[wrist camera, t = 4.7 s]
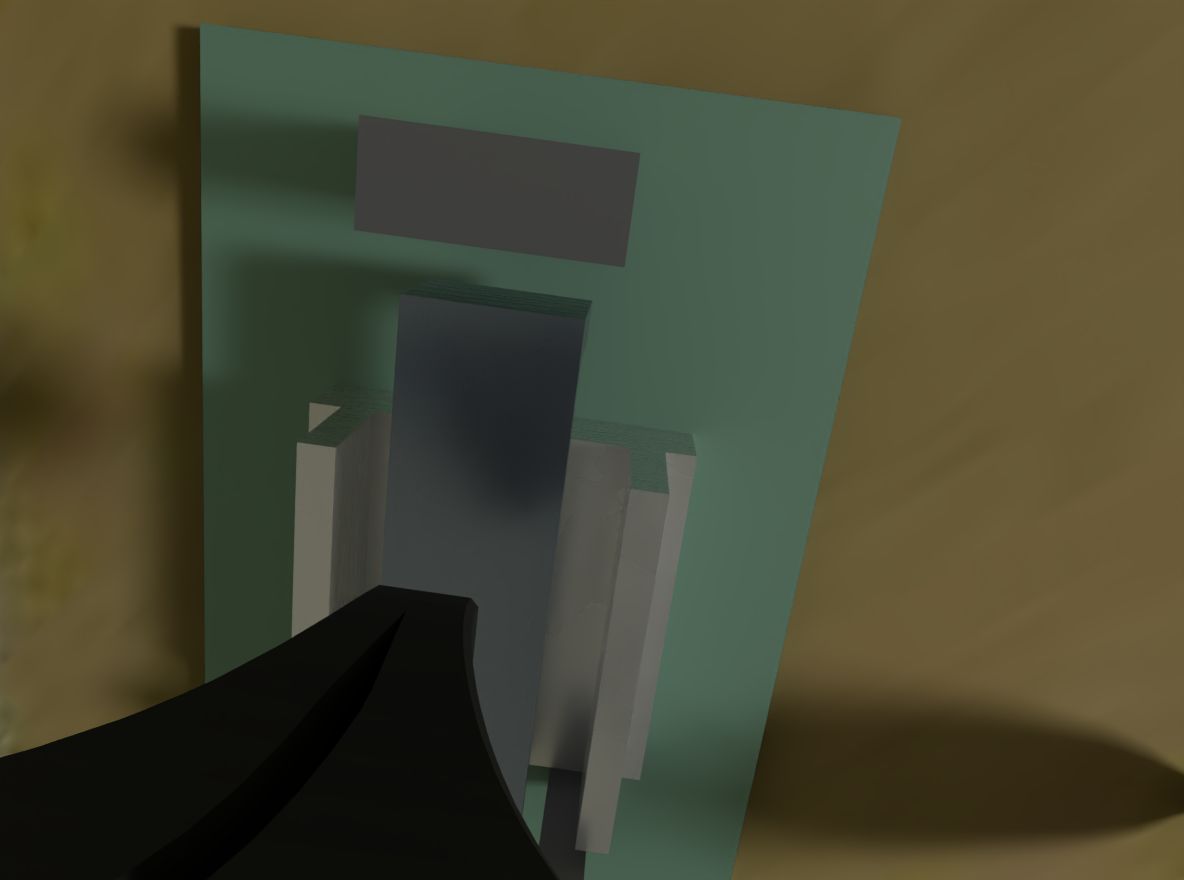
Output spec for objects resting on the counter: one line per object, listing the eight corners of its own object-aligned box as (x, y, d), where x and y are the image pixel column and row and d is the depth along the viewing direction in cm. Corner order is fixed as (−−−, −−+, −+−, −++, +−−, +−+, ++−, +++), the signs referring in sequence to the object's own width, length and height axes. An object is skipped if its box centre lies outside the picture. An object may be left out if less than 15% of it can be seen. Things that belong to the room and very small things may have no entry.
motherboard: (721, 886, 24) (723, 910, 23) (219, 814, 24) (206, 835, 23) (890, 120, 18) (901, 118, 17) (218, 28, 18) (200, 22, 17)
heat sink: (639, 737, 22) (640, 858, 18) (322, 691, 22) (256, 803, 18) (692, 433, 19) (705, 499, 15) (335, 383, 19) (261, 437, 15)
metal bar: (520, 851, 20) (503, 951, 17) (390, 832, 20) (353, 930, 17) (592, 300, 16) (584, 322, 14) (433, 278, 16) (394, 296, 14)
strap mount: (587, 786, 22) (571, 983, 17) (362, 754, 22) (275, 940, 17) (684, 163, 17) (704, 161, 12) (400, 125, 18) (296, 106, 12)
